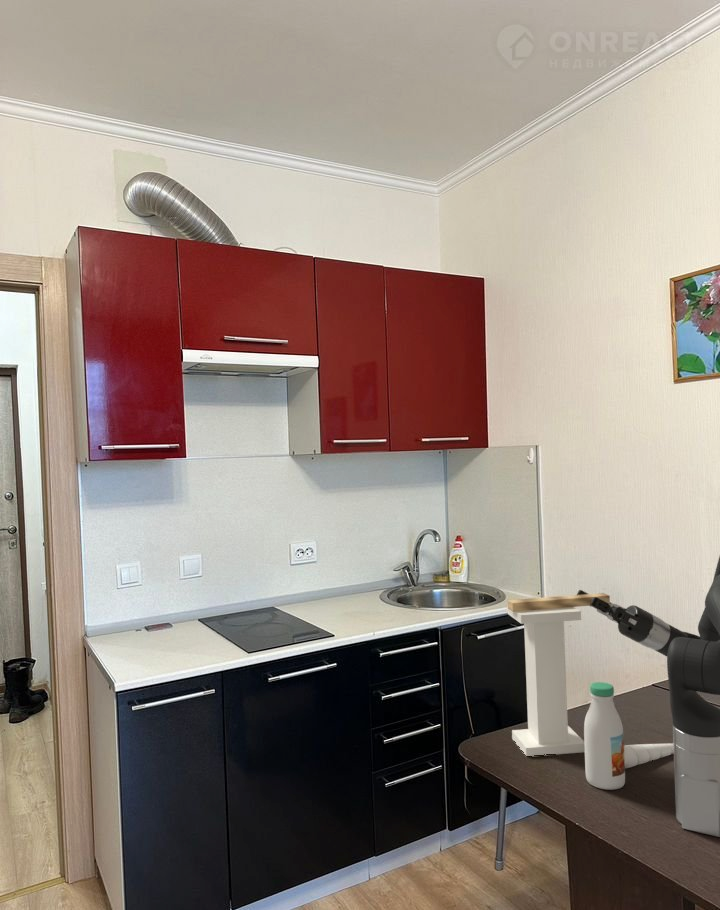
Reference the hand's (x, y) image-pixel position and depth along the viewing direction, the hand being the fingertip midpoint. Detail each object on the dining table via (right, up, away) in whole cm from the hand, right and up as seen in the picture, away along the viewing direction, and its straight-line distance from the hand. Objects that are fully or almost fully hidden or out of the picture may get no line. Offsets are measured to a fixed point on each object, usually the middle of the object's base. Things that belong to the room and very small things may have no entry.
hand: (585, 597), depth 161 cm
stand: (-9, -34, -1) cm, 36 cm away
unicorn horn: (+11, -34, -9) cm, 37 cm away
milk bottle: (-2, -34, -19) cm, 39 cm away
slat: (-6, -2, 0) cm, 6 cm away
